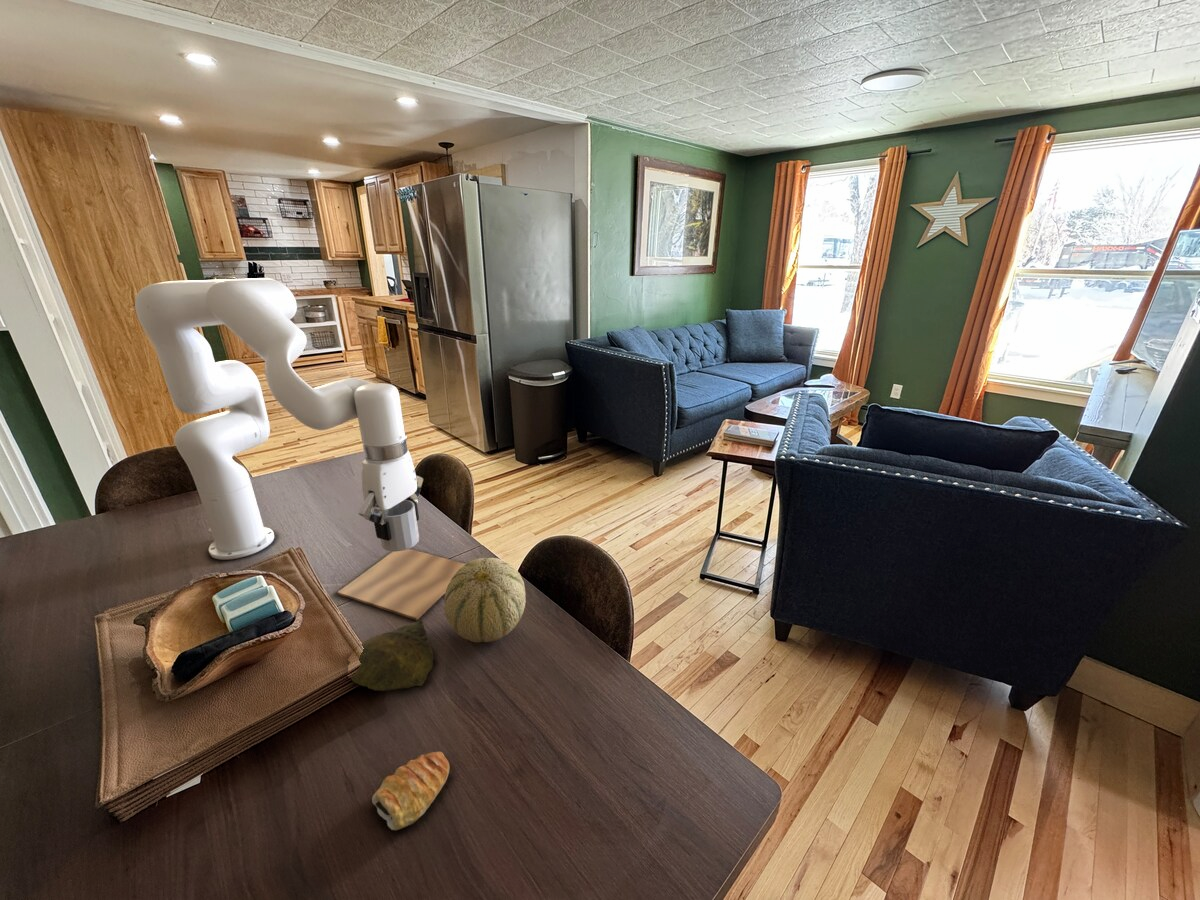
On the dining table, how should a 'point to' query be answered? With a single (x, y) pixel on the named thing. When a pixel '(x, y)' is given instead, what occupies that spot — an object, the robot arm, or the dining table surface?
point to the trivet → (403, 582)
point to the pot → (401, 527)
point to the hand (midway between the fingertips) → (398, 528)
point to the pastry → (411, 790)
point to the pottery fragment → (395, 659)
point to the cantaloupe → (485, 600)
